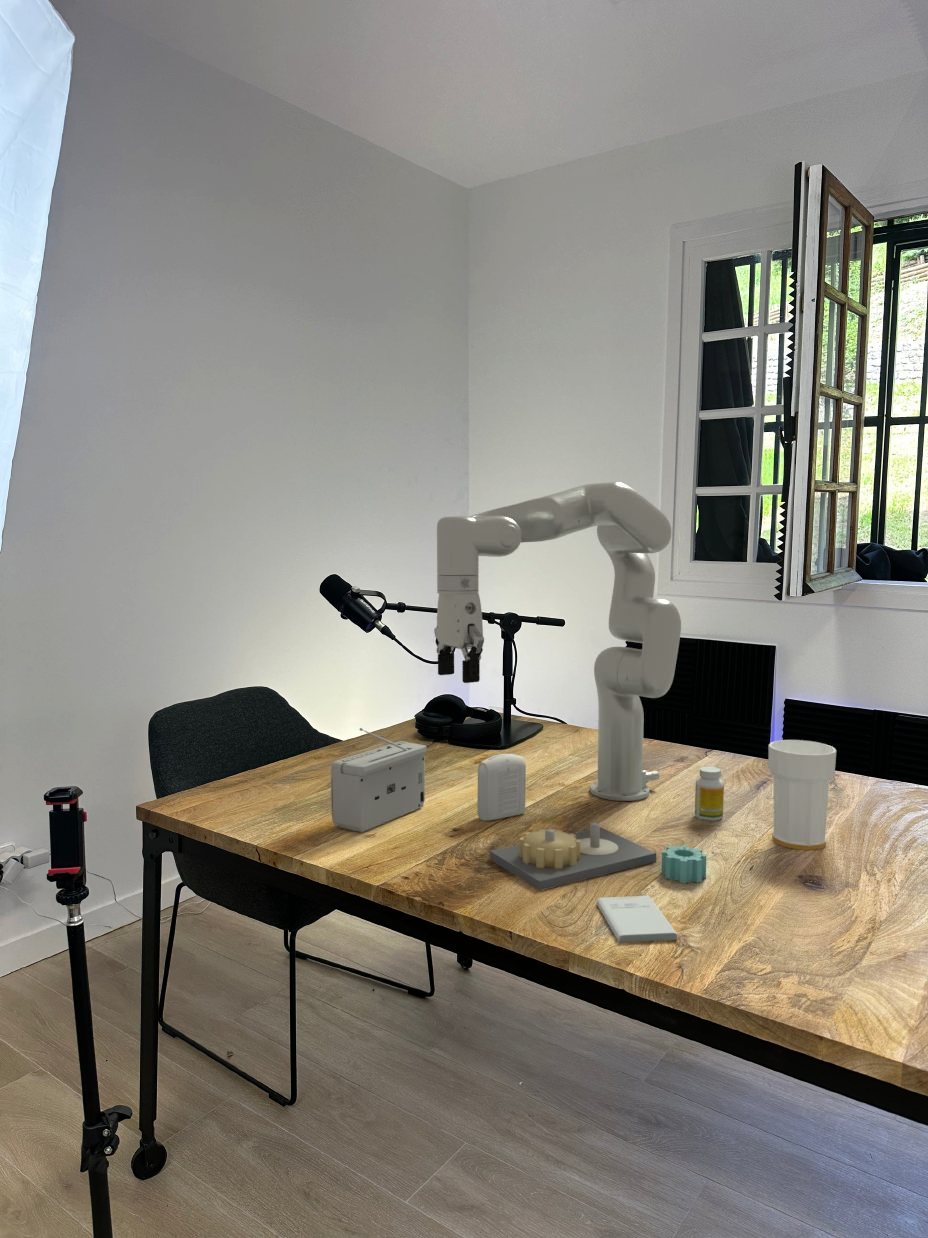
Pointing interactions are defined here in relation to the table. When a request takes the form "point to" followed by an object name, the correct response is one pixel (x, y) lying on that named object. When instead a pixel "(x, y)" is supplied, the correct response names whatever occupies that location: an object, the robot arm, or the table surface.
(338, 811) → the stereo radio cassette player
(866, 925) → the table surface
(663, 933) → the external hard drive
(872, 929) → the table surface
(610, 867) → the gear board
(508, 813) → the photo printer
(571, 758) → the table surface
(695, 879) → the teal gear
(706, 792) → the supplement bottle
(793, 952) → the table surface
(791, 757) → the cup
